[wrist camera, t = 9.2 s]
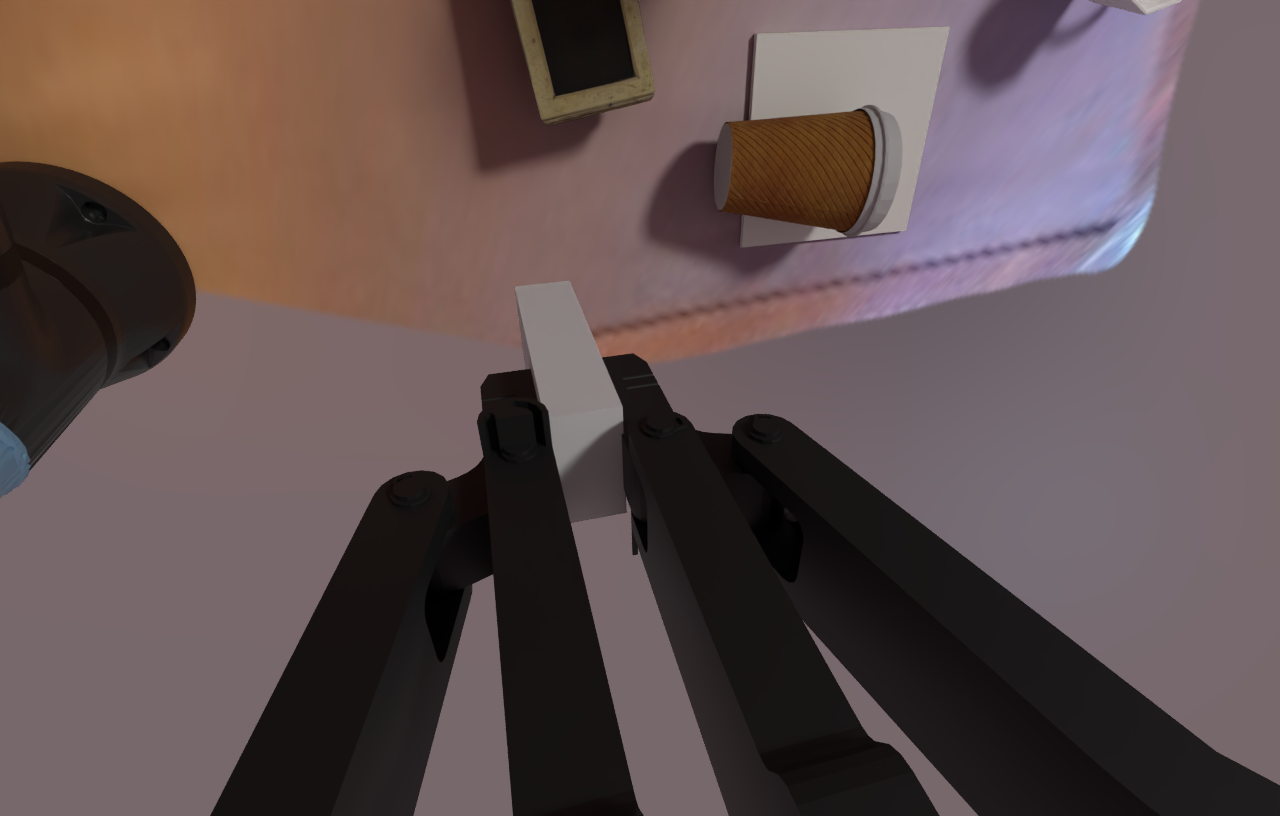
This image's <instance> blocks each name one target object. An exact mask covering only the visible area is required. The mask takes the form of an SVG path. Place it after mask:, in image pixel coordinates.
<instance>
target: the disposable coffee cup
mask: <svg viewBox="0 0 1280 816" xmlns="http://www.w3.org/2000/svg"><path fill="white" fill-rule="evenodd" d="M902 150H903V148H902V137H901V131H900V128H899V125H898V122H897V121H896V119H895V117H894V116H893V115H891V114H890V113H887V112H884V111H881V110H880V109H879V108H878V107H877V106H875V105H865V106H863V107H862V108H858V109H856V110H853V111H851V112H839V113H827V114H817V115H803V116H793V117H780V118H770V119H759V120H749V121H736V122H726V123H725V124H724V125H723V127H722V130H721V132H720V135H719V139H718V143H717V149H716V156H715V166H714V198H715V203H716V206H717V209H718V210H719V211H723V212H729V213H735V214H741V215H748V216H753V217H759V218H765V219H772V220H778V221H783V222H789V223H796V224H802V225H809V226H813V227H814V226H815V227H821V228H826V229H833V230H836V231H837V232H839V233H842V234H843V235H845V236H847V237H855V236H857V235H859V234H861V233H862V232H867V231H871V230H873V229H875V228H877V227H878V226H879V225H880V224H881V223H882V221H883V220H884V218H885V217H886V215H887V214H888V211H889V209H890V207H891V205H892V203H893V200H894V197H895V194H896V191H897V187H898V184H899V179H900V173H901V167H902Z"/></svg>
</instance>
